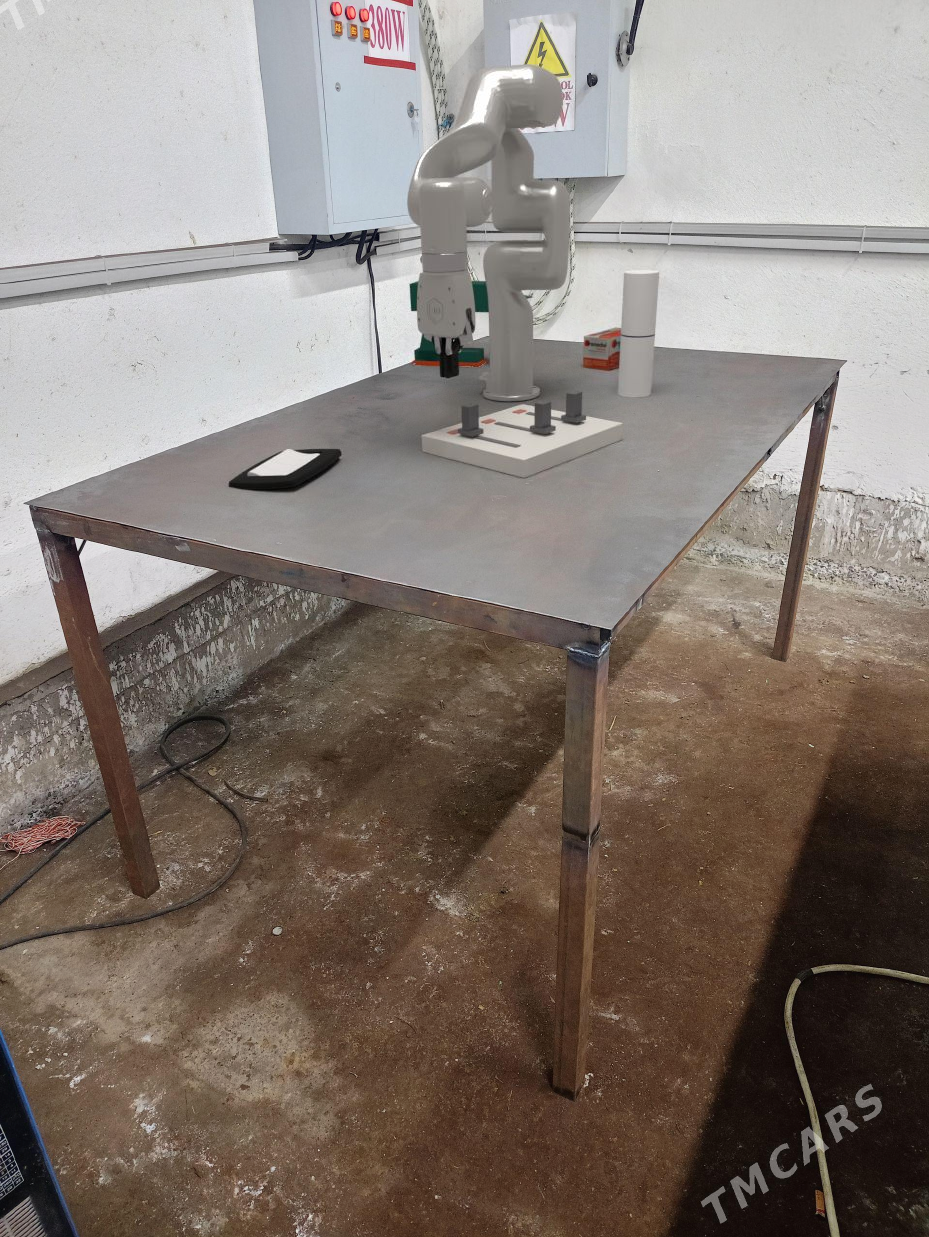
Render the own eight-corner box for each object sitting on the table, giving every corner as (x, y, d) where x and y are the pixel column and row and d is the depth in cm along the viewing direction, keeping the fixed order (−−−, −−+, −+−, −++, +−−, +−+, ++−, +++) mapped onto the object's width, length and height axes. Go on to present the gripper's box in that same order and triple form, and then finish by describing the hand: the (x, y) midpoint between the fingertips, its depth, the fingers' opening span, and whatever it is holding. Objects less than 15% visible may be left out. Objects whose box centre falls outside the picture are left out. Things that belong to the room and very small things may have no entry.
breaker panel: (422, 451, 155) (421, 434, 153) (522, 419, 172) (522, 403, 171) (524, 477, 140) (524, 458, 138) (622, 439, 157) (623, 422, 156)
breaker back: (561, 419, 157) (561, 392, 155) (570, 416, 159) (571, 389, 157) (576, 423, 155) (577, 395, 153) (586, 419, 157) (586, 392, 155)
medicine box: (614, 358, 224) (615, 326, 220) (641, 361, 219) (643, 328, 216) (581, 368, 214) (582, 335, 210) (609, 372, 209) (610, 338, 206)
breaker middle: (529, 430, 152) (529, 402, 149) (539, 427, 154) (539, 399, 151) (545, 434, 150) (545, 405, 147) (555, 430, 151) (556, 402, 149)
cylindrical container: (614, 396, 186) (620, 273, 175) (621, 389, 192) (628, 269, 180) (647, 398, 184) (655, 273, 172) (653, 390, 190) (662, 270, 178)
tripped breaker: (457, 433, 152) (456, 405, 149) (468, 429, 153) (467, 402, 151) (472, 436, 149) (471, 408, 147) (483, 433, 151) (482, 405, 149)
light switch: (278, 444, 156) (346, 441, 152) (281, 460, 158) (349, 457, 153) (218, 478, 140) (293, 476, 135) (222, 495, 141) (296, 494, 136)
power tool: (537, 364, 220) (538, 281, 210) (530, 369, 214) (530, 284, 205) (422, 360, 229) (417, 280, 220) (412, 365, 224) (407, 283, 214)
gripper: (397, 264, 144) (404, 375, 152) (462, 268, 135) (466, 386, 143) (429, 260, 148) (434, 367, 157) (493, 263, 139) (495, 377, 148)
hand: (449, 376), depth 150 cm, fingers closed
